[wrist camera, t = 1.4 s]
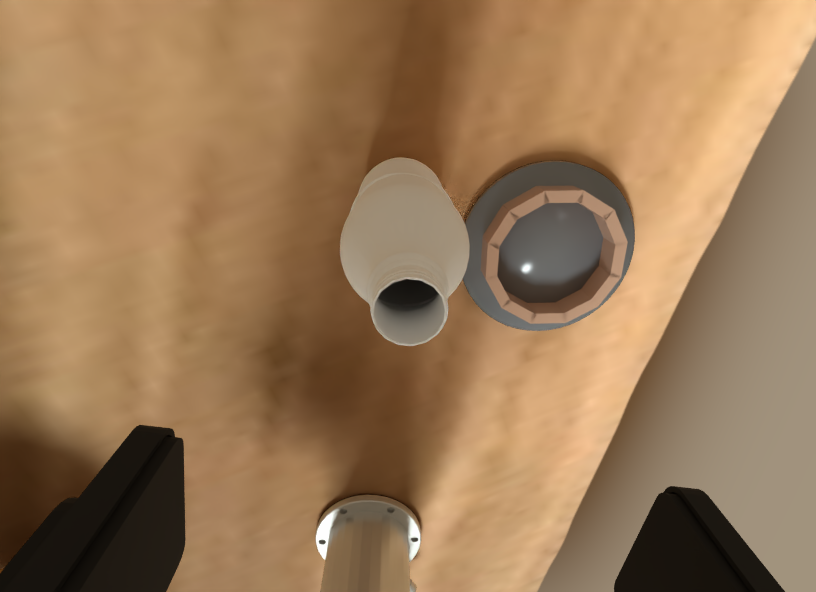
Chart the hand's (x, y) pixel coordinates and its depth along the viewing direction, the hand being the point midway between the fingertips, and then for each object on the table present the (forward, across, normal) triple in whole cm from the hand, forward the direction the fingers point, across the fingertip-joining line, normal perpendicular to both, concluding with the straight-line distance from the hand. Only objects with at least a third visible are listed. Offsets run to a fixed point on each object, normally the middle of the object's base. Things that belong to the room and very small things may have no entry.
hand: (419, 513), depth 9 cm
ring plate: (+34, -14, +3) cm, 37 cm away
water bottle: (+35, 0, 0) cm, 35 cm away
